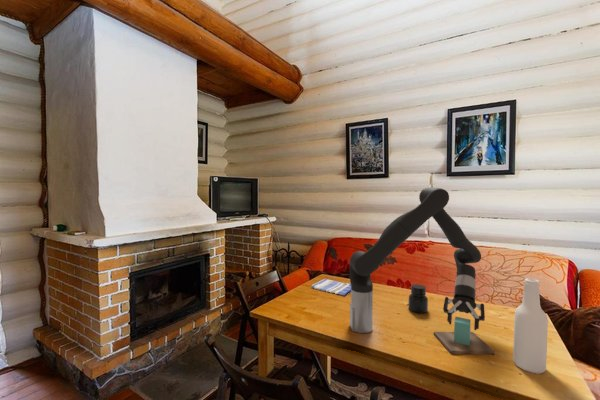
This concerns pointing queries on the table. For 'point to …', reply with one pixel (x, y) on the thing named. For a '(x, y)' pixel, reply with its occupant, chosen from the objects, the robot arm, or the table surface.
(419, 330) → the table surface
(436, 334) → the post board
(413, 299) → the ink bottle
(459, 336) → the tall teal pillar
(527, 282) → the alcohol
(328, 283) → the dish towel
